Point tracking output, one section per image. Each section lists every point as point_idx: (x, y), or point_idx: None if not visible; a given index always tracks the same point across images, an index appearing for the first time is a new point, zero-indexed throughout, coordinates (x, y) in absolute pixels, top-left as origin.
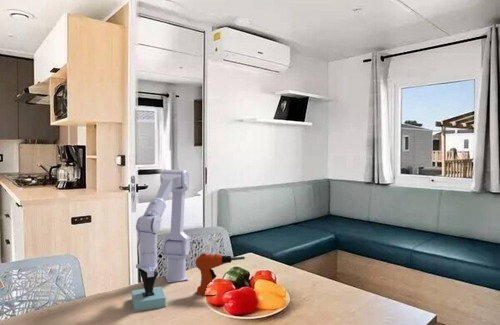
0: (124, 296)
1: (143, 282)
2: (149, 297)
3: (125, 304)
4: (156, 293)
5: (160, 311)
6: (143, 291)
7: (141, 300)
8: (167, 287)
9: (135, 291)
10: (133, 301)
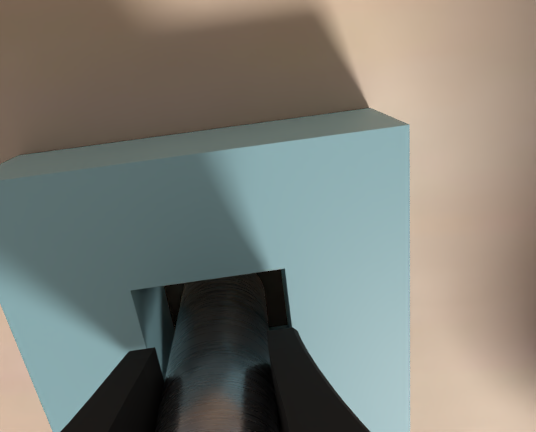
0: (481, 6)
1: (281, 398)
2: (107, 361)
3: (231, 39)
4: None
5: (14, 389)
6: (319, 284)
7: (19, 279)
8: (527, 421)
9: (350, 181)
10: (51, 168)
